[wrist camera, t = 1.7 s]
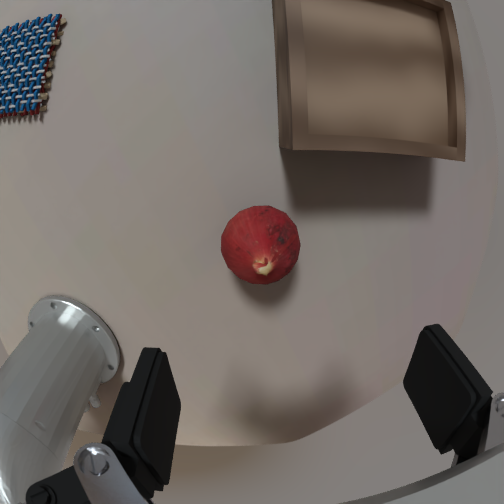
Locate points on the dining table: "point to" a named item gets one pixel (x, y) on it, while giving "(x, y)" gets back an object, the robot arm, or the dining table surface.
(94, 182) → the dining table surface
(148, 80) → the dining table surface
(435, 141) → the walnut tray
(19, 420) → the robot arm
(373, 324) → the dining table surface
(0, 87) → the woven mat
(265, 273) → the pomegranate
